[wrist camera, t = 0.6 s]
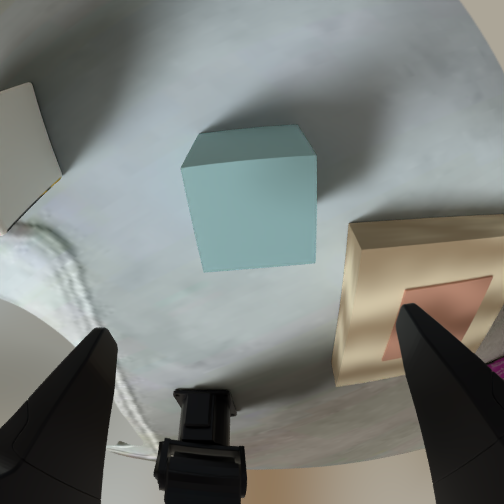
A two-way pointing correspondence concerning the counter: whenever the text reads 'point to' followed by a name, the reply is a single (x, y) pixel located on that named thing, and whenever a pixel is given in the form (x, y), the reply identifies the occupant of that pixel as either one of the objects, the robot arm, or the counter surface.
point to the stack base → (415, 287)
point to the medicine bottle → (23, 155)
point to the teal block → (252, 197)
